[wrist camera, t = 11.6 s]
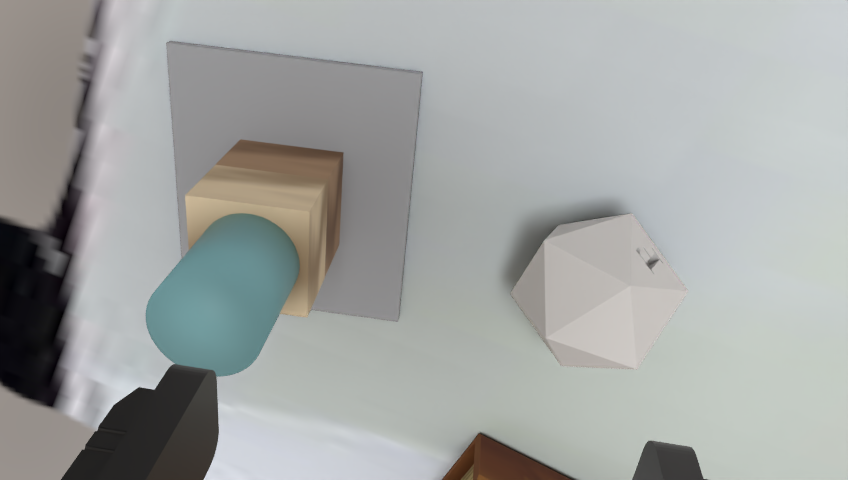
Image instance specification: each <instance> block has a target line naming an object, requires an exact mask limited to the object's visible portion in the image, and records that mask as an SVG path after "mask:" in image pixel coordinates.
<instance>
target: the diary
mask: <svg viewBox="0 0 848 480" xmlns="http://www.w3.org/2000/svg"><path fill="white" fill-rule="evenodd" d="M442 480H571V479H569V478H567V477H565V476H563V475H561V474H559V473H557V472H555V471H553V470H551V469H549V468H547V467H545V466H543V465H541V464H539V463H537V462H535V461H533V460H531V459H529V458H527V457H525V456H523V455H521V454H519V453H517V452H515V451H513V450H511V449H509V448H507V447H505V446H503V445H501V444H499V443H497V442H495V441H493V440H491V439H489V438H487V437H485V436H483V435H482V434H478V435H477V436H476V438H475V439H474V440H473V441H472V443H471V444H470V445H469V446H468V448H467V449H466V450H465V451H464V453H463V454H462V455H461V457H460V458H459V459H458V460H457V462H456V463H455V464H454V465H453V467H452V468H451V469H450V470H449V472H448V473H447V474H446V475H445V477H444V478H443V479H442Z"/></svg>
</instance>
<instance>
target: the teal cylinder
mask: <svg viewBox="0 0 848 480" xmlns="http://www.w3.org/2000/svg"><path fill="white" fill-rule="evenodd" d="M299 268H300V262H299V256H298V252H297V250H296V247H295V245H294V243H293V242H292V240H291V239H290V237H289V236H288V235H287V234H286V232H284V231H283V230H282V229H281V228H280V227H279V226H277V225H276V224H275V223H273V222H271V221H270V220H268V219H265V218H263V217H260V216H257V215H253V214H246V213H236V214H230V215H227V216H224V217H221V218H219V219H218V220H216V221H215V222H213V223H212V224H211V225H210V226H209V227H208V228H207V229H206V231H205V232H204V233H203V234H202V235H201V237H200V238H199V239H198V240H197V241H196V243H195V244H194V245H193V246H192V247H191V249H190V250H189V251H188V252H187V253H186V255H185V256H184V257H183V258H182V259H181V261H180V262H179V263H178V264H177V265H176V267H175V268H174V269H173V270H172V271H171V273H170V274H169V275H168V276H167V277H166V279H165V280H164V281H163V282H162V283H161V285H160V286H159V287H158V288H157V289H156V291H155V292H154V293H153V294H152V296H151V298H150V300H149V301H148V305H147V308H146V323H147V328H148V331H149V334H150V336H151V338H152V340H153V341H154V343H155V345H156V346H157V347H158V348H159V350H160V351H161V352H162V353H163V354H164V355H165V356H166V357H167V358H168V359H170V360H171V361H172V362H174V363H175V364H177V365H184V366H190V367H196V368H203V369H209V370H214V371H215V373H216V376H228V375H232V374H235V373H238V372H240V371H242V370H244V369H246V368H247V367H248V366H250V365H251V364H252V363H253V362H254V361H255V360H256V358H257V357H258V355H259V353H260V351H261V349H262V347H263V345H264V343H265V341H266V339H267V337H268V336H269V334H270V332H271V330H272V328H273V326H274V324H275V322H276V320H277V318H278V316H279V314H280V312H281V310H282V308H283V306H284V304H285V302H286V300H287V298H288V296H289V294H290V292H291V290H292V288H293V286H294V284H295V283H296V280H297V278H298V274H299Z"/></svg>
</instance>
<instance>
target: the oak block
mask: <svg viewBox="0 0 848 480" xmlns="http://www.w3.org/2000/svg"><path fill="white" fill-rule="evenodd" d="M327 199H328V179H323V178H315V177H307V176H299V175H292V174H284V173H276V172H268V171H261V170H253V169H245V168H237V167H230V166H222V165H215V166H214V167H213V168H212V169H211V170H210V171H209V172H208V173H207V174H206V175H205V176H204V177H203V178H202V179H201V180H200V181H199V182H198V183H197V184H196V185H195V186H194V187H193V188H192V189H191V190H190V191H189V192H188V193H187V194H186V195H185V202H186V217H187V232H188V247H189V250H190V249H191V247H192V246H193V245H194V244H195V243H196V241H197V240H198V239H199V238H200V237H201V235H202V234H203V233H204V232H205V231H206V229H207V228H208V227H209V226H210V225H211V224H212V223H213V222H215V221H216V220H218V219H219V218H221V217H224V216H227V215H230V214H236V213H246V214H253V215H257V216H260V217H263V218H265V219H268V220H270V221H271V222H273V223H275V224H276V225H277V226H279V227H280V228H281V229H282V230H283V231H284V232H286V234H287V235H288V236H289V237H290V239H291V240H292V242H293V243H294V245H295V247H296V250H297V252H298V256H299V262H300V268H299V274H298V278H297V280H296V283H295V284H294V286H293V288H292V290H291V292H290V294H289V296H288V298H287V300H286V302H285V304H284V306H283V308H282V310H281V312H280V314H285V315H293V316H300V317H308V314H309V312H310V310H311V308H312V305H313V303H314V301H315V299H316V296H317V294H318V292H319V290H320V287H321V285H322V283H323V281H324V278H325V255H326V227H327Z"/></svg>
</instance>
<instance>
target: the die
mask: <svg viewBox="0 0 848 480" xmlns="http://www.w3.org/2000/svg"><path fill="white" fill-rule="evenodd" d="M687 293H688V290H687V288H686V287H685V286H684V284H683V283H682V281H681V280H680V279H679V277H678V276H677V274H676V273H675V272H674V270H673V269H672V268H671V266H670V265H669V263H668V262H667V261H666V259H665V258H664V257H663V255H662V254H661V252H660V251H659V250H658V248H657V247H656V246H655V244H654V243H653V241H652V240H651V239H650V237H649V236H648V235H647V233H646V232H645V230H644V229H643V228H642V226H641V225H640V224H639V222H638V221H637V219H636V218H635V217H634V215H633V214H632V213H630V214H624V215H617V216H611V217H605V218H598V219H592V220H586V221H580V222H573V223H567V224H561V225H558V226H557V227H556V228H555V229H554V230H553V232H552V233H551V234H550V235H549V236H548V237H547V238H546V239H545V240H544V241H543V243H542V244H541V246H540V248H539V249H538V251H537V252H536V254H535V255H534V257H533V258H532V260H531V262H530V263H529V265H528V266H527V268H526V269H525V271H524V273H523V274H522V276H521V277H520V279H519V280H518V282H517V283H516V285H515V287H514V288H513V290H512V291H511V293H510V294H511V296H512V297H513V299H514V300H515V301H516V303H517V304H518V306H519V307H520V308H521V310H522V311H523V313H524V314H525V315H526V317H527V318H528V320H529V321H530V323H531V324H532V325H533V327H534V328H535V330H536V331H537V332H538V334H539V335H540V337H541V338H542V339H543V341H544V342H545V344H546V345H547V346H548V348H549V349H550V351H551V352H552V353H553V355H554V356H555V358H556V359H557V360H558V362H559V363H560V365H561V366H568V367H592V368H615V369H638V367H639V366H640V364H641V363H642V361H643V360H644V358H645V357H646V355H647V354H648V352H649V351H650V349H651V348H652V346H653V344H654V343H655V341H656V340H657V338H658V337H659V335H660V334H661V332H662V331H663V329H664V328H665V326H666V325H667V323H668V322H669V320H670V319H671V317H672V316H673V314H674V312H675V311H676V309H677V308H678V306H679V305H680V303H681V302H682V300H683V299H684V297H685V296H686V294H687Z"/></svg>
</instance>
